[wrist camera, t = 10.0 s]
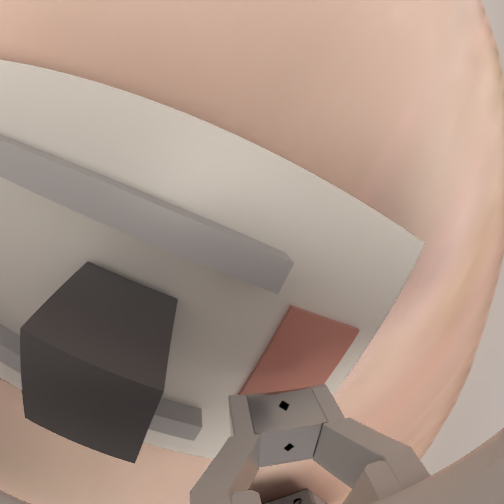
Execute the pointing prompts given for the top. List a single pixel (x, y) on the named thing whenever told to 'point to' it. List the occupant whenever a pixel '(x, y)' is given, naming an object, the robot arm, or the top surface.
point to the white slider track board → (189, 245)
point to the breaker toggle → (97, 360)
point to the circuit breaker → (307, 499)
